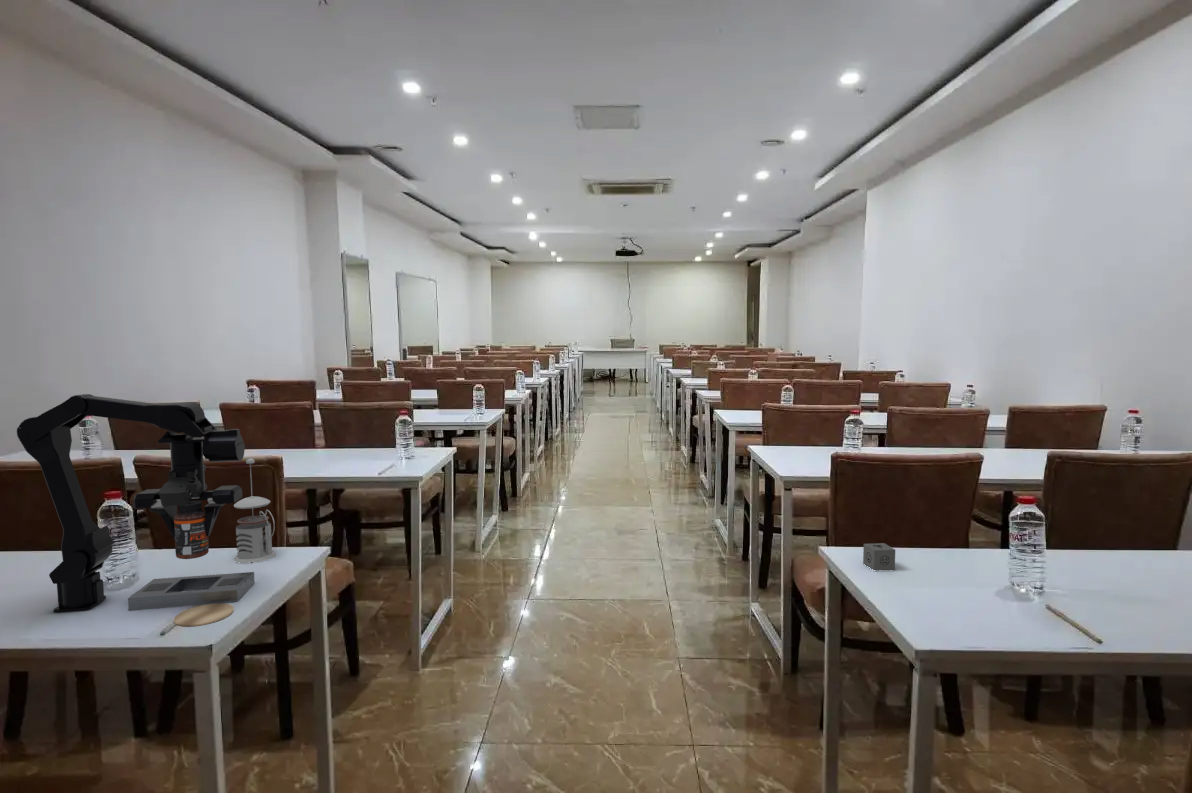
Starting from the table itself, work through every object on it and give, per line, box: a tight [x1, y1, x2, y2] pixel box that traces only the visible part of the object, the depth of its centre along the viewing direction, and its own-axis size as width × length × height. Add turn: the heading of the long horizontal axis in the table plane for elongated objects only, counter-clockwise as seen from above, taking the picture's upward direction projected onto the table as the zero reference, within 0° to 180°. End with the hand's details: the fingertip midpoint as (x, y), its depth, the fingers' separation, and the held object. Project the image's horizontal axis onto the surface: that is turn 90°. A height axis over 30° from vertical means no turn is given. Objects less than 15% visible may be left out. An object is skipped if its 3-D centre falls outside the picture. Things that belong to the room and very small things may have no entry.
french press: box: [233, 458, 277, 564], centre depth 160 cm, size 10×12×25 cm
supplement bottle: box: [174, 500, 210, 560], centre depth 135 cm, size 6×6×11 cm
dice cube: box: [862, 542, 896, 571], centre depth 150 cm, size 5×5×5 cm
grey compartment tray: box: [127, 571, 256, 611], centre depth 136 cm, size 20×11×2 cm, turn 101°
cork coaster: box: [173, 603, 235, 627], centre depth 126 cm, size 10×10×1 cm
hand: (191, 536), depth 135 cm, fingers closed on supplement bottle, 6 cm apart
